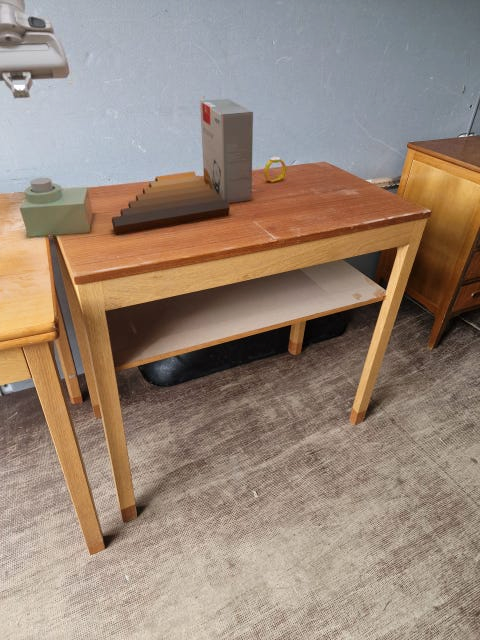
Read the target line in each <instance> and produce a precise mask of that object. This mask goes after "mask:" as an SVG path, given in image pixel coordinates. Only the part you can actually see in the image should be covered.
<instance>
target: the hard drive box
mask: <svg viewBox="0 0 480 640" xmlns="http://www.w3.org/2000/svg"><path fill="white" fill-rule="evenodd" d="M199 105H200V124H201V125H200V126H201V148H202V169H203V171H202V172H203V180H204V181H205V184H206V185H207V184H209V185H210V188H211V189H215V191H216V194H221V197H222V199H223V200H224V199H227V202H228V204H234V203H241V202H247V201H252V190H253V189H252V188H253V141H254V139H253V138H254V137H253V136H254V135H253V134H254V127H253V126H254V111H252V110H250V109H248V108H246V107H245V106H243V105H241V104H239V103H237V102H235V101H233V100H232V99H229V98H223V99H208V100H200V101H199Z"/></svg>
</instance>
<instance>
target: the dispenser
mask: <svg viewBox="0 0 480 640" xmlns="http://www.w3.org/2000/svg"><path fill="white" fill-rule="evenodd" d="M52 185H53V190H51V191H49V192H44V193H34V192H33V191H32V187H31V185H30V186H28V187H26V188H25V189H24V191H23V193H24V196H25V197H24V199H23V201H22V203H21V205H20V206H19V211H20V214H21V217H22V221H23V224H24V228H25V231H26V234H27V237H28V238H34V237H35V238H36V237H47V236H48V237H49V236H61V235H62V236H63V235H73V234H74V235H75V234H85V233H90V231H91V228H92V227H91V226H92V221H93V216H94V212H93V207H92V203H91V197H90V192H89V188H88V186H80V187H79V186H78V187H62V186H61V185H60V184H58V183H53V182H52Z"/></svg>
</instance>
